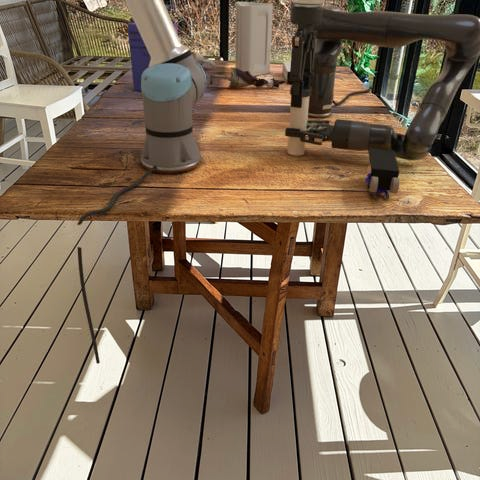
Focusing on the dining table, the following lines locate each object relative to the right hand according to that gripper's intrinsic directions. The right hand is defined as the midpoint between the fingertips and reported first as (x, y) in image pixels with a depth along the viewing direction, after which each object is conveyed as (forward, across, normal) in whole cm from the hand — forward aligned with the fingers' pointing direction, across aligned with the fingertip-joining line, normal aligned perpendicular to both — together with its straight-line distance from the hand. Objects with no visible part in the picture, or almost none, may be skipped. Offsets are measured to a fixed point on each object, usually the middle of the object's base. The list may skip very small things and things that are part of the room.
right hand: (287, 128), depth 128 cm
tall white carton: (+35, -94, +6) cm, 101 cm away
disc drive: (+11, -90, +6) cm, 91 cm away
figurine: (+30, -65, +6) cm, 72 cm away
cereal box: (+62, -50, +6) cm, 80 cm away
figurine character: (-26, +18, +6) cm, 32 cm away
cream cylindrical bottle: (-3, 0, +6) cm, 7 cm away
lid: (-3, 0, -11) cm, 11 cm away
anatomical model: (+58, -70, +6) cm, 91 cm away
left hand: (-3, 0, -7) cm, 7 cm away
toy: (+68, -93, +6) cm, 115 cm away
